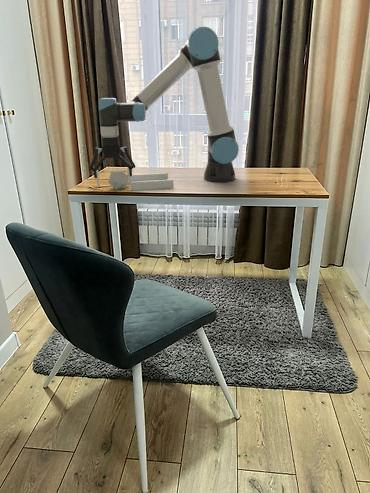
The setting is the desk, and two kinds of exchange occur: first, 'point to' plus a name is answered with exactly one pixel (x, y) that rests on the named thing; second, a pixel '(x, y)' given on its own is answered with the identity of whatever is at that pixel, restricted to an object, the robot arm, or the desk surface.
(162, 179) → the grey u-shaped frame
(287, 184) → the desk surface
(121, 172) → the die
